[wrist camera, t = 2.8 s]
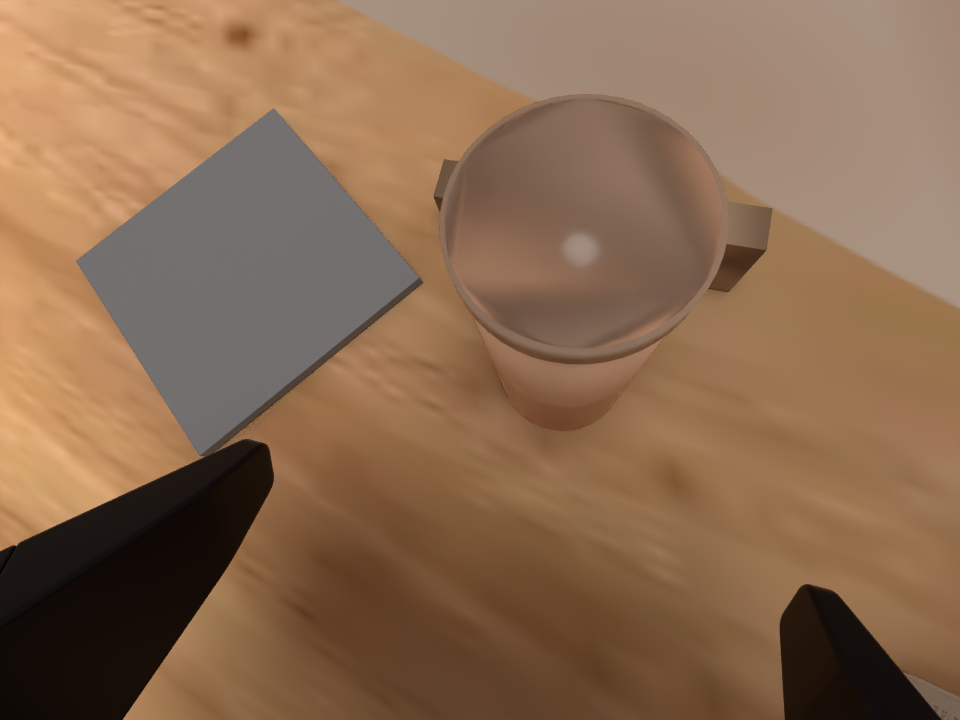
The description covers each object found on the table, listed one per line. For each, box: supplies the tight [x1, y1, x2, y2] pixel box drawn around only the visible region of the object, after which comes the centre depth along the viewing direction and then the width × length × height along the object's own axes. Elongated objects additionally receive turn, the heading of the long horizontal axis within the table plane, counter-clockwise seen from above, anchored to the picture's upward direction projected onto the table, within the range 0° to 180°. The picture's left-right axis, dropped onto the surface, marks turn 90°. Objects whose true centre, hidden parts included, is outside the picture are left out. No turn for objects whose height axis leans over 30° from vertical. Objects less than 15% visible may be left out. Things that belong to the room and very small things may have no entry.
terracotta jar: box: [439, 94, 729, 430], centre depth 16 cm, size 5×5×13 cm
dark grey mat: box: [76, 108, 423, 456], centre depth 25 cm, size 12×12×1 cm
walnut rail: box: [434, 159, 772, 292], centre depth 22 cm, size 12×2×4 cm, turn 76°
